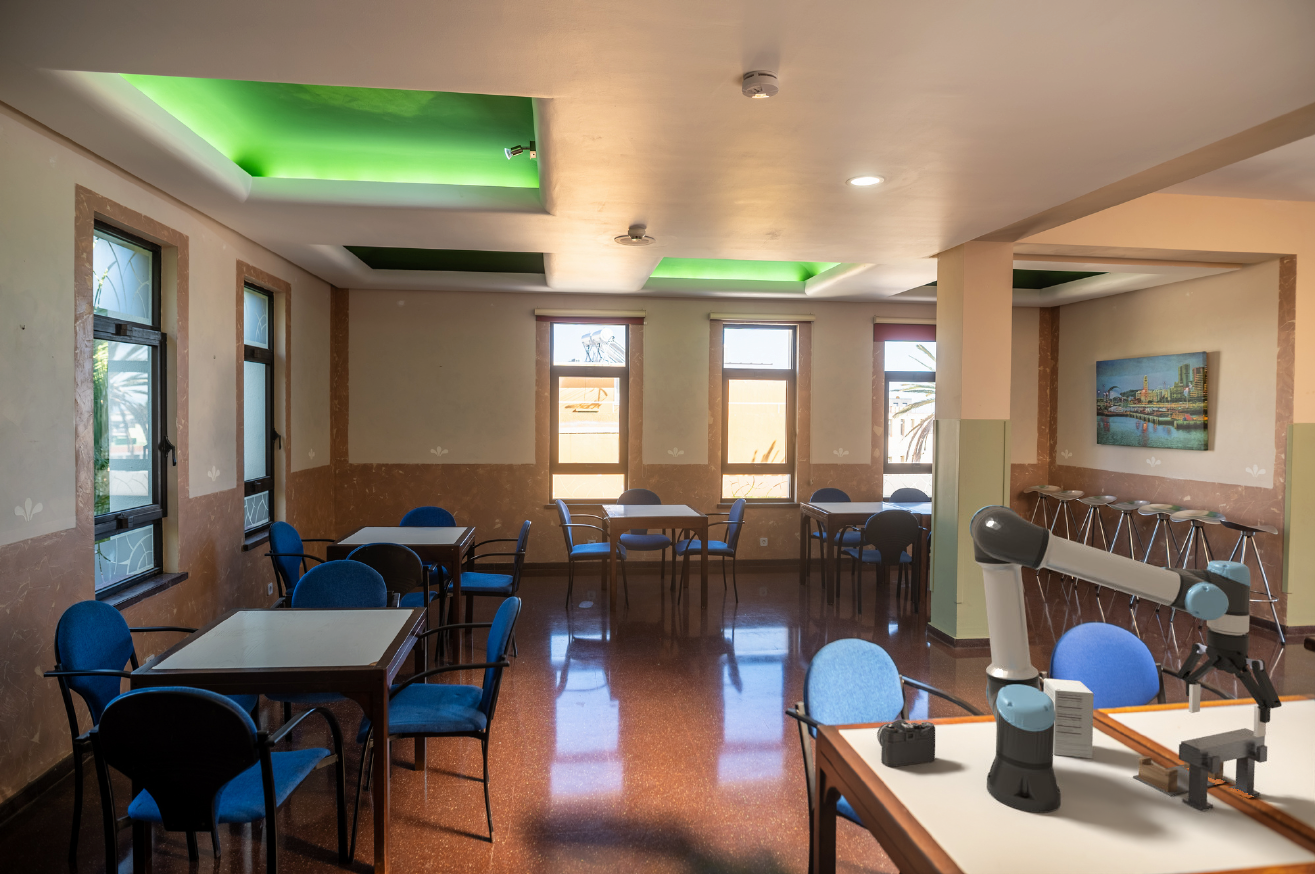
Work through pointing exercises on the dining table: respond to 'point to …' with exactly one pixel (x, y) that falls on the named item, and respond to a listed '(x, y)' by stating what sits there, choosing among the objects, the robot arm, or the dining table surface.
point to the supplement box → (1071, 717)
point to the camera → (906, 743)
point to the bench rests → (1169, 777)
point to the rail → (1221, 747)
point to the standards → (1200, 774)
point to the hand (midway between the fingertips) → (1225, 723)
